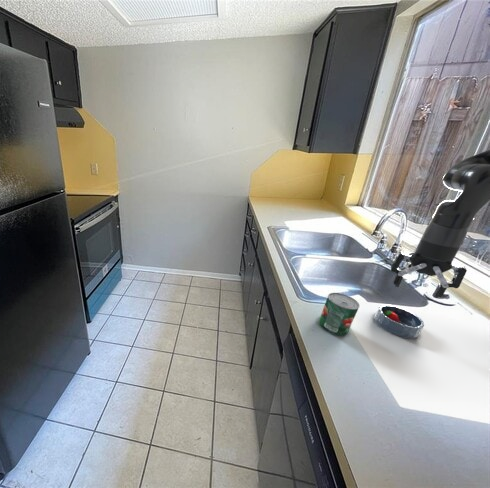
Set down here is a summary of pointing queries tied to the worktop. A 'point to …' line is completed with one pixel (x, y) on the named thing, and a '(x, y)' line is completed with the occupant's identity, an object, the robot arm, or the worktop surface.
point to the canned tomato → (338, 313)
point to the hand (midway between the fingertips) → (415, 291)
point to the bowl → (404, 316)
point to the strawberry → (391, 316)
